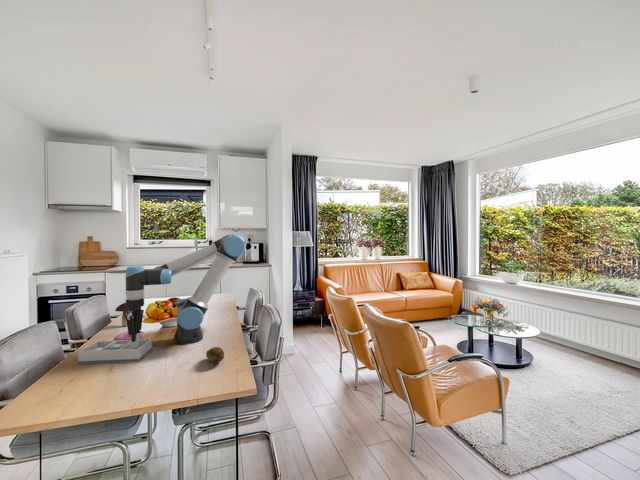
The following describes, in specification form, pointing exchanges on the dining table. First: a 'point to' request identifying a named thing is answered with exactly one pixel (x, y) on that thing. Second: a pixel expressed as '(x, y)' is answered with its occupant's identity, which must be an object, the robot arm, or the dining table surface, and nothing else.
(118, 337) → the donut
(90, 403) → the dining table surface
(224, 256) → the robot arm
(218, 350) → the green bumpy oval piece
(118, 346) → the key slate
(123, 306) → the decorative mushroom
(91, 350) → the keypad board
